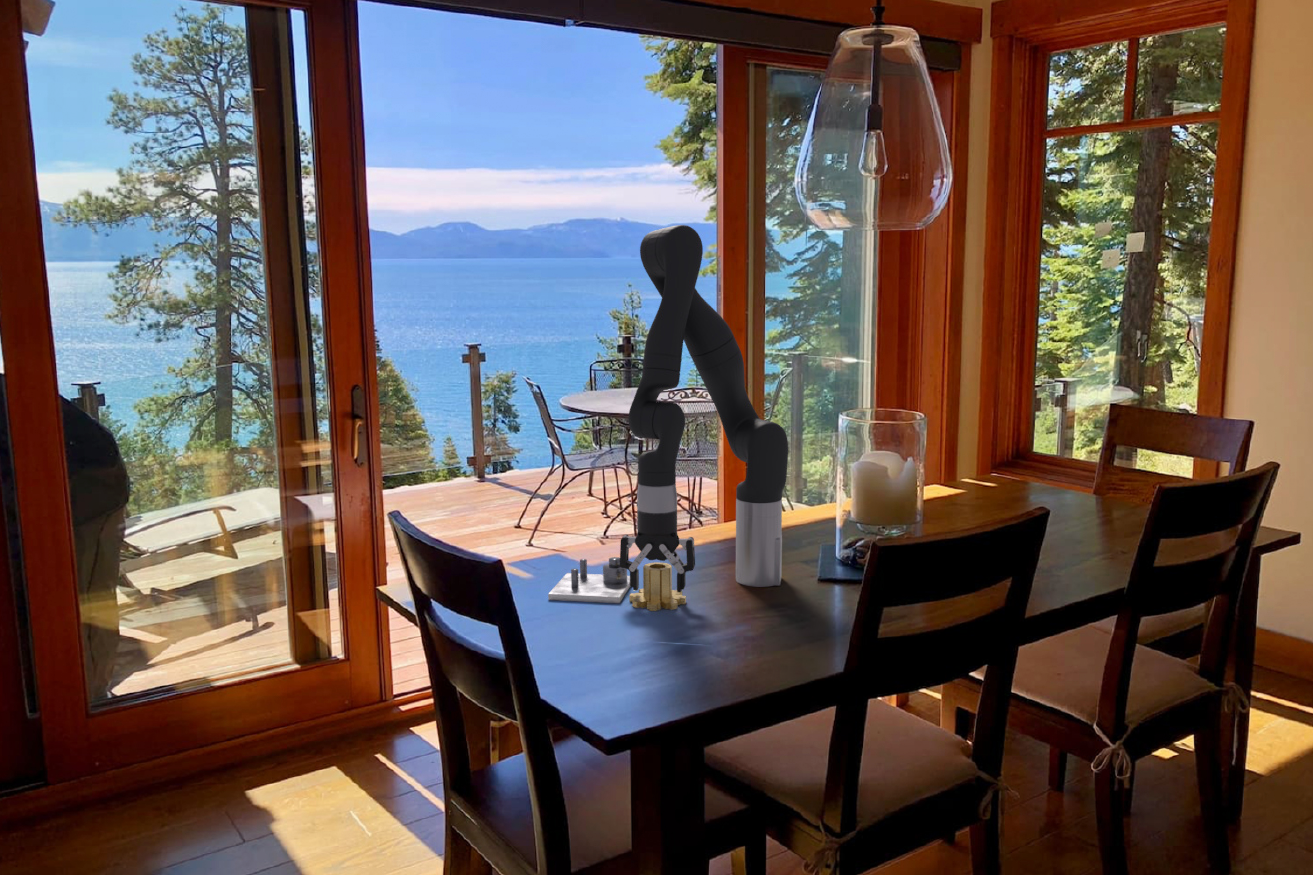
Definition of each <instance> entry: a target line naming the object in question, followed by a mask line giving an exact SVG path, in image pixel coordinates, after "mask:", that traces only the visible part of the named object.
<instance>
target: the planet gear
mask: <svg viewBox="0 0 1313 875" xmlns="http://www.w3.org/2000/svg"><path fill="white" fill-rule="evenodd" d="M672 572H673V565H672V564H671V563H667V562H658V561H657V562H653V561H652V562H649V563H646V564H644V565H643V569H642V575H643V579H642V582H643V584H642V586H643V587H642V588H638V592H635V593H633V592H632V593H629V596H628V597H629V602H630V603H632V607H634V608H636V609H639V608H641V609H644V608H646V609H647V610H648V611H649V612H651V611H652V612H657V611H660V610H661V609H665V610H670V611H672V610H677V609H678V606H680V605H686V603H687V596H686V595H683V590H682V591H681V592H677V589H676V590H674V589H672V588H673V577H672V576H673V573H672Z"/></svg>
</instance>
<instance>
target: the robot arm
mask: <svg viewBox="0 0 1313 875" xmlns="http://www.w3.org/2000/svg"><path fill="white" fill-rule="evenodd" d="M703 247H704V245H703V241H702V239H701V237H700V235H699V233H698V232H697V231H696V229H694V228H692V226H689V225H685V224H678V225H671V226H668V227H663V228H659V229H656V230H652V231H650V232H648V233H647V234H645V236H643V239H642V240H641V242H640V247H639V248H640V249H639V254H640V255H639V256H640V261H641V263H642V265H643V268H644V270H645V273H646V274H647V275H648V277H649V279H650V280H651V282H652V284H653V285H654V287H655V289H656V290H657V292H658V294H659V295H660V297H661V301H660V304H659V306H658V309H657V312H656V314H655V317H654V319H653V320H652V323H651V326H650V328H649V330H648V332H647V333H648V334H647V337H646V341H645V345H644V350H643V362H642V373H641V377H640V381H639V383H638V385H637V389H636V392H635V395H634V397H633V399H632V400H633V401H632V402H631V405H630V408H629V412H628V418H627V420H628V426H629V430H630V431H631V433H632V434H633V436H635V437H637V438H640V439H649V440H651V439H652V440H659V441H658V445H657V448H656V449H655V450H649V451H644V452H642V453H641V454H640V455H639V457H638V462H637V464H638V465H637V468H638V471H637V472H638V474H637V476H638V485H637V493H636V498H637V499H636V507H637V509H636V510H637V514H636V515H637V516H636V517H637V518H636V519H637V526H636V527H637V531H636V532H637V534H636V536H630V535H628V534H624V535H623V536H622V537H621V538H620V545H619V546H620V547H619V548H620V550H619V558H620V567H621V568H626V569H627V571H629V576H630V586H631V587H630V588H632V590H633V591H639V589H640V576H639V574H640V573H639V571H640V569H638V567H639V565H640V564H641V563H642V562H643V561H644V560H645V558H646V559H647V560H648V561H657V560H658V561H660V562H661V561H662V562H665V561H667V560H668V561H669V564H670V565H671V566H672V567H674V569H675V570H676V571H677V573H676V590H677V592H681V591H682V592H683V590H685V587H686V582H687V581H686V579H687V578H686V576H687V575H686V573H687V572H691V571H694V569H695V566H696V555H695V553H696V552H695V539H694V537H693V536H689V537H687V538H680V537H679V535H678V493H677V492H678V491H677V485H676V483H677V481H676V479H677V478H676V475H677V474H676V473H677V472H676V471H677V470H676V469H677V468H676V467H677V466H676V462H677V459H678V458H677V457H678V456H679V451H680V446H681V443H682V442H681V441H682V439H683V435H684V432H685V426H686V417H685V416H686V415H685V413H684V410H683V409H682V407H681V406H680V405H679V404H677V403H676V402H671V401H657V400H658V398H659V396H660V394H661V393H662V392H664V391H667V390H673V389H675V388H677V387H678V385H679V383H680V377H681V368H682V359H683V349H684V344H685V346H686V348H687V351H688V353H689V355H690V358H691V359H692V362H693V364H694V366H695V368H696V370H697V372H698V374H699V376H700V378H701V380H702V382H703V383H704V386H705V389H706V391H707V392H708V393H707V394H709V396H710V398H711V401H712V402H713V404H714V406H715V408H716V411H717V413H718V417H719V419H720V422H721V425H722V428H723V432H724V434H725V436H726V439H727V442H728V445H729V448H730V450H731V451H732V453H733V455H734V456H735V457H736V458H737V459H738V460H740V461H742V462H744V463H746V464H747V465H746V476H745V480H744V481H741V482H739V483H738V484H737V485H736V489H735V490H736V491H735V492H736V493H735V494H736V496H735V498H736V499H735V581H736V582H737V583H738V584H740V585H743V586H748V587H753V588H754V587H757V588H759V587H760V588H764V587H773V586H781V583H782V568H783V567H782V564H783V563H782V559H783V558H782V557H783V556H782V555H783V554H782V552H783V533H782V528H783V526H782V525H783V524H782V521H783V520H782V518H783V517H782V516H783V514H782V511H783V491H784V488H785V487H786V484H787V477H788V476H787V475H788V474H787V473H788V461H789V459H788V458H789V441H788V435H787V433H786V431H785V429H784V428H783V427H782V426H781V425H780V424H778V423H776V422H773V421H769V420H765V419H761V418H760V417H759V415H758V414H757V412H756V410H755V409H754V406H753V404H752V402H751V400H750V399H749V396H748V392H747V389H746V383H745V363H744V358H743V355H742V352H741V348H740V347H739V344H738V342H737V340H736V338H735V336H734V333H733V331H732V329H731V328H730V325H729V324H728V323H727V321H725V319H724V318H723V317H722V316H721V315H720V314H719V312H717V310H715V309H714V308H713V307H712V306H711V305H710V304H709V303H708V302H707V301H706V300H705V299H704V298H703V297H702V296H701V294H700V293H699V292H698V290H697V289H696V286H697V285H696V284H697V280H698V277H699V274H700V269H701V264H702V261H703V254H704V253H703V252H704V248H703ZM634 544H635V545H636V547H637V548H638V549H639V551H640V552H639V553H638V555H637V556H636V557H635V559H634V560H633V561H631V560H629V558H630V557H629V556H630V554H629V553H630V549H631V548H632V546H633V545H634ZM679 546H682V549H683V551H686V563H685V562H683V560H682V559H681V558H680V557H681V556H680V555H679V554H678V552H677V551H676V550H677V548H678V547H679Z"/></svg>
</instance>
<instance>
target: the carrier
mask: <svg viewBox="0 0 1313 875" xmlns="http://www.w3.org/2000/svg"><path fill="white" fill-rule="evenodd" d="M630 588H632V587H631V586H630V575H628V569H626V568H621V567H620V556H619V557H618V556H617V557H616V556H614V557H609V558H608V563H606V564H604V565H603V566H602V574H601V573H600V574H599V573H598V574H596V573H595V574H594V573H588V559H587V558H581V559H579V569H578V568H570V572H566V573H565V575H563V577H562V578H561V579H560V580H559V581H558V582H557V583H556V584H555V586H554V587H553V588H552V589H551V590H550V591H549V592H548V595H547V596H548V597H547V599H548V601H562V602H563V601H564V602H565V601H566V602H585V603H586V602H587V603H602V604H603V603H605V604H606V603H607V604H621V602H622V601H623V599H624V597H625V596H626V595H627V593H628V591H629V590H630Z"/></svg>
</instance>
